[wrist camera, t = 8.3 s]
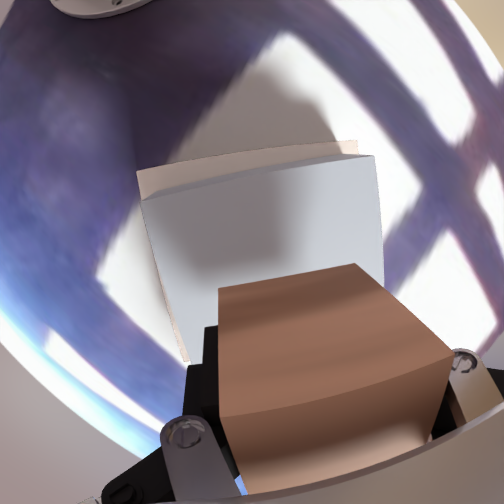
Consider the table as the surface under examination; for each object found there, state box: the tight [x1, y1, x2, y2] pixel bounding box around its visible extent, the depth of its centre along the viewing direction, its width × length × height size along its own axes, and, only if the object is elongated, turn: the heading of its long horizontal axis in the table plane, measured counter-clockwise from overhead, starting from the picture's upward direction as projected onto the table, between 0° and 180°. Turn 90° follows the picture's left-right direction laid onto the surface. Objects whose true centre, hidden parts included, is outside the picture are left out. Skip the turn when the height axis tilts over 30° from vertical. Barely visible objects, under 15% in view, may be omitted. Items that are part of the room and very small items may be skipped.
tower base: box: [136, 140, 359, 362], centre depth 21 cm, size 13×13×4 cm
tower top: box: [140, 154, 384, 365], centre depth 17 cm, size 11×11×4 cm
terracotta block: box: [218, 263, 455, 495], centre depth 9 cm, size 5×5×6 cm
